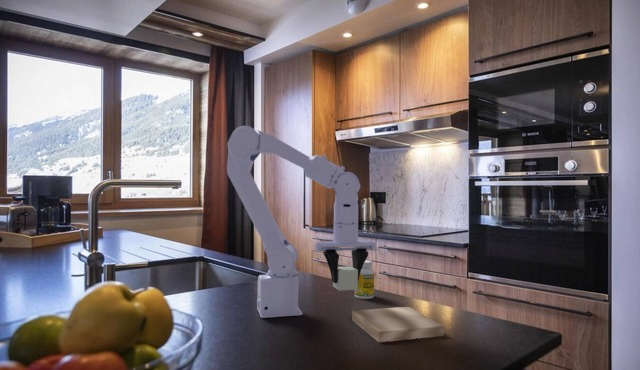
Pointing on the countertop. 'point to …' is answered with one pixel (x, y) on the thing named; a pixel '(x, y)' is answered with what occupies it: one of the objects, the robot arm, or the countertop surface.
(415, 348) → the countertop surface
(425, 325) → the birch block
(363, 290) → the supplement bottle
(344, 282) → the sage cube
